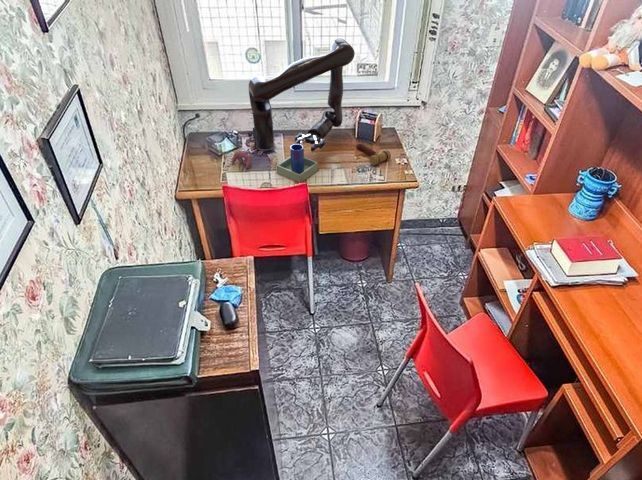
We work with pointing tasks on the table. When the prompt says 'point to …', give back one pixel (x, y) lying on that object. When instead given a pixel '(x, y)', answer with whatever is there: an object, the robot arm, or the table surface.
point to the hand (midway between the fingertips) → (303, 147)
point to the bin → (285, 170)
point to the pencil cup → (297, 158)
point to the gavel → (375, 154)
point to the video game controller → (240, 156)
